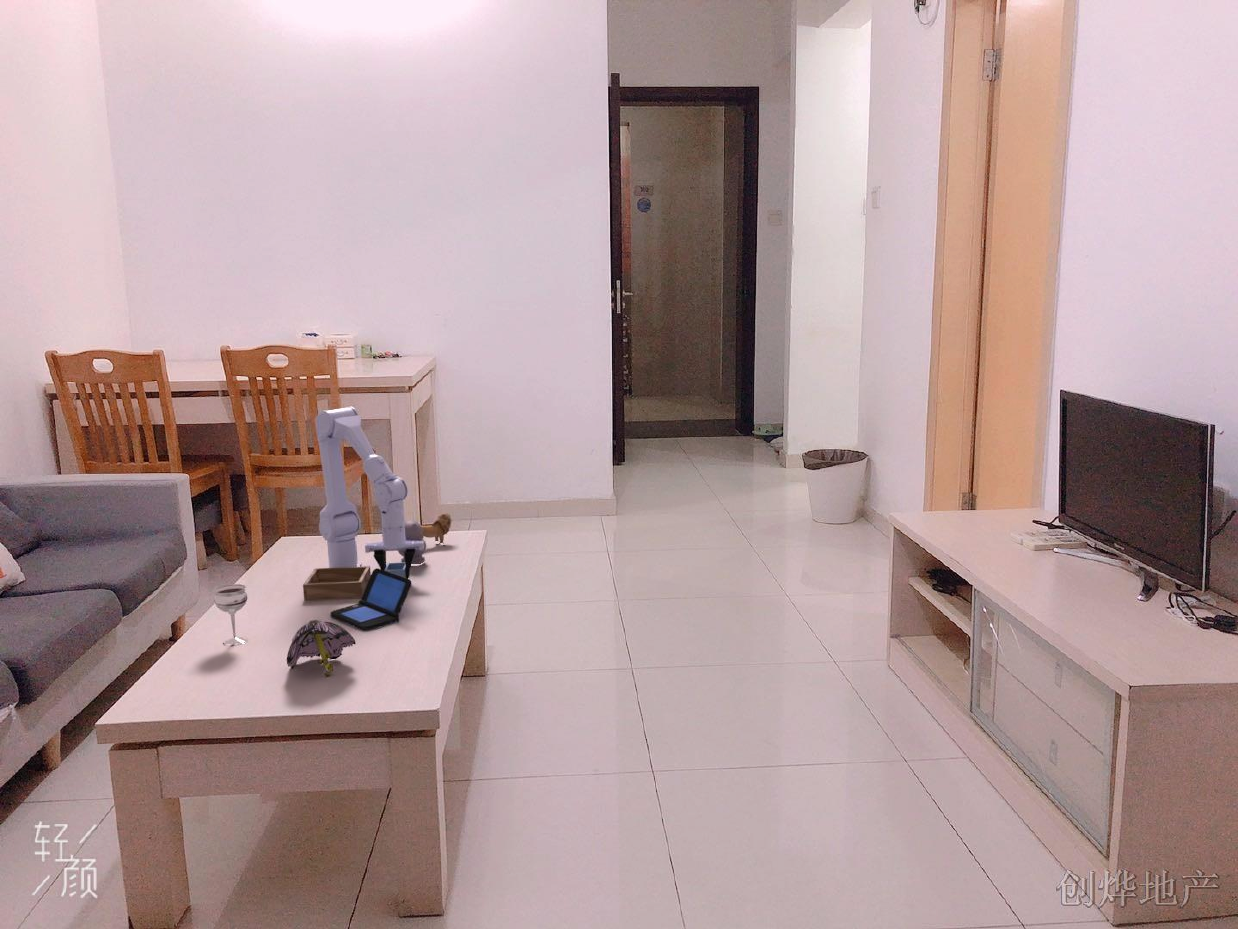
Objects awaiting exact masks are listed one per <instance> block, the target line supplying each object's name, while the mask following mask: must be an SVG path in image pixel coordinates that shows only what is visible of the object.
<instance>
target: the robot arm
mask: <svg viewBox="0 0 1238 929" xmlns="http://www.w3.org/2000/svg"><path fill="white" fill-rule="evenodd" d="M314 423H315V424H314V425H315V431H316V437H317V439H316V440H317V441H318V448H319V454H320V461H321V470H322V475H323V483H324V489H325V496H326V505H325V506H324V507H323V509H321V510H320V512H319V514H318V515H319V524H318V530H319V533H320V535H321V537H322V538H323V539H324V541H326V542H327V545H326V546H327V556H328V566H329V567H328V568H340V567H357V564H358V562H359V560H358V547H357V540H356V537H358V533H359V532H360V530H361V528H362V527H361V526H362V525H361V524H362V522H361V518H360V515H359V514H358V510H357V506H356V505H354V504H353V503H351V502H350V501H349V498H348V491H347V490H348V489H347V483H346V477H345V471H344V462H343V455H342V448H341V443H342V442H343V440H346V441H347V442H348V444H350V446H351V447H352V448H353V450H354V451H355V452H356V453H357V455H358V456H359V457H360V459H361V460H362V462H363V463H362V470H363V471H364V473H365V475H366V476H367V477H368V479H369V481H370V483H371V484H372V485H373V487H374V489H375V491H374V492H373V495H374V499H375V501H376V502H377V506H378V510H379V511H380V520H381V535H382V541H378V542H369V543H365V545H364V551H365V553H371V552H372V553H373V558H374V560H375V561H376V562H377V565H378V567H379V569H381V570H385V568H386V566H387V552H394V551H395V552H396V551H397V552H398V551H399V550H406V551H405V553H404V556H405V564H406V578H409V579H410V575H411V574H410V572H411V568H412V567H411V563H412V560H413V557H414V554H415V551H416V550H423V549H424V541H425V540H424V541H406V538H405V522H406V521H405V510H404V500H405V499H406V498H407V497H408V487H407V483H406V481H405V480H404V479H403V478H401V477H399V476H398V475H396V474H394V473H393V471H392V470H391V468H390V467H389V465H388V464H387V462H386V460H385V458H384V457H383V456H382V455H379V454H376V453H375V452H374V450H373V447H372V445H371V443H370V442H369V440H368V438H367V437H366V435H365V432H364V430H363V429H362V418H361V416H360V414H359V412H358V411H357V409H356V408H355V407H353V406H347V407H342V408H336V409H330V410H321V411H319V412H318V413H317V415H316V416H315V418H314ZM361 563H362V562H361ZM361 563H360V564H361ZM361 565H362V564H361ZM358 567H359V566H358Z"/></svg>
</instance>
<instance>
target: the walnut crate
mask: <svg viewBox="0 0 1238 929" xmlns="http://www.w3.org/2000/svg"><path fill="white" fill-rule="evenodd" d="M371 574H372V571H371V566H370V565H368V566H367V565H366V566H364V565H363V566H360V567H340V568H329V567H323V568H320V567H319V568H318V567H317V568H314V569H313V570H312V572H311V573H310V575H309V576H308V577H307V579H306V580H305V582H304V583H303V584H302V588H303V601H323V600H324V601H326V600H346V599H361V598H362V596H363V593H364V591H365V589H366V586H367V584H368V581H369V579H370V576H371Z"/></svg>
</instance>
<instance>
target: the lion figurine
mask: <svg viewBox="0 0 1238 929" xmlns="http://www.w3.org/2000/svg"><path fill="white" fill-rule="evenodd" d="M420 525H421V524H420ZM421 526H422V529H423V534H422V537H421V538H422V539H423V540H424V538H428V539H430V538H431V539H432V538H434V542H435V541H439V542H440V543H443V544H444V538H445V536H444V535H448V533H449V531H450V529H451V527H452V518H451V515H450V514H449V513H445V512H443V513H441V514H439V515H438V516H437V519H435V521H434V522H433V523H432V524H430V525H421Z"/></svg>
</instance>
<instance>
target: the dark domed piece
mask: <svg viewBox="0 0 1238 929" xmlns="http://www.w3.org/2000/svg"><path fill="white" fill-rule="evenodd" d="M356 644H357V643H356V640H355V638H354V637H353V636H352V635H351V633H349V631H347V630H346V629H345V628H344V627H342V626H340V625H339V624H337V623H334V622H330V621H321V620H319V619H312V620H310V621H309V622H308V623H306V624H305V625H303V626H301V627H300V628H299V629H298V630H297V632H296V633H295V634H294V636H293V638H292V639H291V644H290V646H289V648H288V650H287V651H288V652H287V655H286V665H287V667H288V668H289V667H290V668H291V669H292V670H294V667H295V665H296V664H297V663H298V662H299V661H298V660H299V659H300V658H305V657H306V658H311V659H312V658H313V657H319V659H318V660H317V663H318V665H323V666H325V669H326V671H325V672H324V675H326V676H325V677H328V676H327V675H330V676H331V672H332V671H333V670H334V664H333V663H330V661H329V660H331V659H335V660H336V659H338V658H340V657H341V656H342V655H343V654H342V653H343V652H342V651H343V650H344V649H343V648H346V647H353V645H356ZM320 657H321V658H320Z"/></svg>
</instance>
